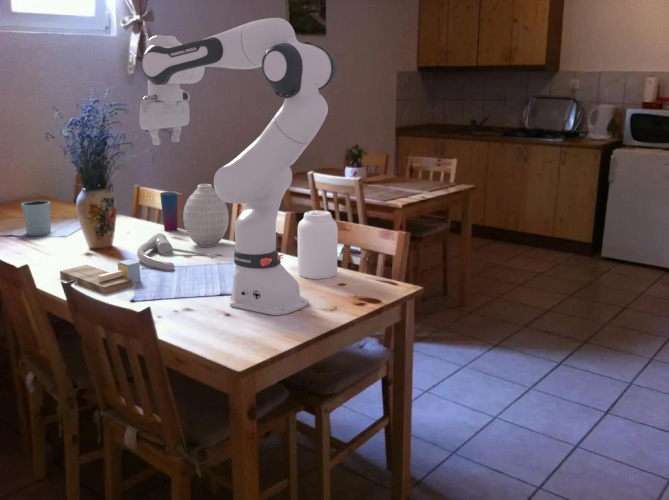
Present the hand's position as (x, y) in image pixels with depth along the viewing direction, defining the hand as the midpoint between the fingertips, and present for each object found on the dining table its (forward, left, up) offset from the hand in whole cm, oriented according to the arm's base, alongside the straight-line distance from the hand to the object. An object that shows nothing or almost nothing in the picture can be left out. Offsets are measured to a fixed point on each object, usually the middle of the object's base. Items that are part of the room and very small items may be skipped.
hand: (166, 143), depth 188 cm
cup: (+52, -39, -41) cm, 77 cm away
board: (+14, +18, -41) cm, 47 cm away
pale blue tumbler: (+86, -2, -41) cm, 95 cm away
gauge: (+7, +15, -41) cm, 44 cm away
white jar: (-31, -32, -41) cm, 61 cm away
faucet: (+17, -13, -42) cm, 47 cm away
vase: (+23, -33, -41) cm, 58 cm away
